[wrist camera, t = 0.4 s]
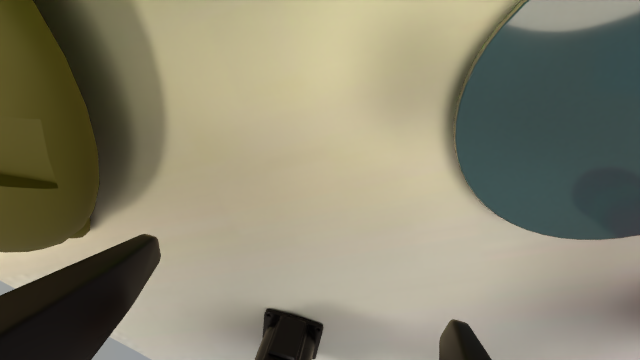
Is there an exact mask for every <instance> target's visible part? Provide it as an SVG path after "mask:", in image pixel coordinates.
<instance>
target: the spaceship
mask: <svg viewBox="0 0 640 360" xmlns="http://www.w3.org/2000/svg"><path fill="white" fill-rule="evenodd" d="M98 189H99V165H98V150H97V146H96V142H95V138H94V134H93V130H92V126H91V122H90V118H89V114H88V110H87V107H86V105H85V102H84V100H83V98H82V95H81V93H80V90H79V88H78V86H77V83H76V81H75V79H74V76H73V74H72V71H71V69H70V67H69V64H68V62H67V60H66V57H65V56H64V54H63V52H62V50H61V49H60V47H59V45H58V43H57V42H56V40H55V38H54V36H53V35H52V33H51V31H50V29H49V28H48V26H47V24H46V22H45V21H44V19H43V17H42V15H41V14H40V12H39V10H38V8H37V7H36V5H35V3H34V1H33V0H0V252H28V251H34V250H40V249H44V248H48V247H51V246H54V245H57V244H61V243H63V242H64V241H66V240H67V239H68V238H80V237H83V236H84V235H86V234H87V233H88V232H89V231H90V221H91V220H90V215H91V214H92V212H93V210H94V208H95V203H96V198H97V193H98Z"/></svg>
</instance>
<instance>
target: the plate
mask: <svg viewBox="0 0 640 360" xmlns="http://www.w3.org/2000/svg"><path fill="white" fill-rule="evenodd" d="M453 137H454V145H455V152H456V156H457V159H458V163H459V166H460V169H461V171H462V173H463V175H464V178H465V180H466V182H467V184H468V185H469V187H470V188H471V190H472V191H473V192H474V194H475V195H476V196H477V197H478V199H479V200H480V201H481V202H482V203H483V204H484V205H485V206H486V207H488V208H489V209H490V210H491V211H493V212H494V213H495V214H497V215H498V216H500V217H501V218H503V219H505V220H507V221H508V222H510V223H512V224H514V225H516V226H519V227H521V228H524V229H526V230H529V231H532V232H536V233H539V234H542V235H547V236H553V237H558V238H567V239H577V240H602V239H615V238H624V237H631V236H637V235H640V0H522V1H521V2H520V3H519V4H518V5H517V6H516V7H515V8H514V9H513V10H512V11H511V12H510V13H509V14H508V15H507V16H506V17H505V18H504V20H503V21H502V22H501V23H500V24H499V25H498V26H497V28H496V29H495V30H494V32H493V33H492V34H491V36H490V37H489V38H488V39H487V41H486V42H485V43H484V45H483V47H482V48H481V50H480V51H479V53H478V55H477V56H476V58H475V60H474V61H473V63H472V65H471V67H470V69H469V71H468V74H467V76H466V78H465V80H464V82H463V85H462V88H461V91H460V94H459V97H458V100H457V105H456V111H455V116H454V134H453Z"/></svg>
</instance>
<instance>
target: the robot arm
mask: <svg viewBox="0 0 640 360" xmlns="http://www.w3.org/2000/svg"><path fill="white" fill-rule="evenodd" d="M160 257H161V254H160V248H159V242H158V239H157V238H156V237H155V236H151V235H148V234H142V235H139V236H137V237H135V238H132V239H130V240H128V241H125V242H123V243H121V244H118V245H116V246H114V247H111V248H109V249H107V250H104V251H102V252H100V253H98V254H95V255H93V256H91V257H88V258H86V259H84V260H81V261H79V262H77V263H74V264H72V265H70V266H67V267H65V268H63V269H61V270H58V271H56V272H54V273H51V274H49V275H47V276H44V277H42V278H40V279H37V280H35V281H33V282H30V283H28V284H26V285H23V286H21V287H19V288H17V289H14V290H12V291H10V292H7V293H5V294H3V295H1V296H0V360H91V359H92V358H93V356H94V355H95V354H96V353H97V351H98V350H99V349H100V347H101V346H102V345H103V343H104V342H105V341H106V340H107V338H108V337H109V336H110V334H111V333H112V332H113V330H114V329H115V328H116V327H117V325H118V324H119V323H120V321H121V320H122V319H123V317H124V316H125V315H126V313H127V312H128V311H129V309H130V308H131V306H132V305H133V303H134V302H135V300H136V299H137V297H138V296H139V294H140V292H141V291H142V289H143V288H144V286H145V284H146V283H147V281H148V279H149V278H150V276H151V275H152V273H153V271H154V270H155V268H156V267H157V265H158V263H159V261H160ZM322 331H323V325H321V324H319V323H316V322H312V321H309V320H305V319H302V318H298V317H295V316H292V315H288V314H285V313H281V312H278V311H274V310H271V309H267V310H266V312H265V315H264V328H263V340H262V342H261V345H260V347H259V350H258V352H257V355H256V358H255V360H312V359H315V358H316V354H317V350H318V346H319V343H320V339H321V335H322ZM439 360H492V359H491V358H490V356H489V355H488V353H487V352H486V350H485V349H484V347H483V346H482V344H481V343H480V341H479V340H478V338H477V337H476V335H475V334H474V332H473V331H472V329H471V328H470V326H469V325H468V324H467V323H465V322H462V321H458V320H454V319H453V320H451V321H450V322H449V323H448V325H447V327H446V328H445V330H444V331H443V333H442V335H441V337H440V343H439Z"/></svg>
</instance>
